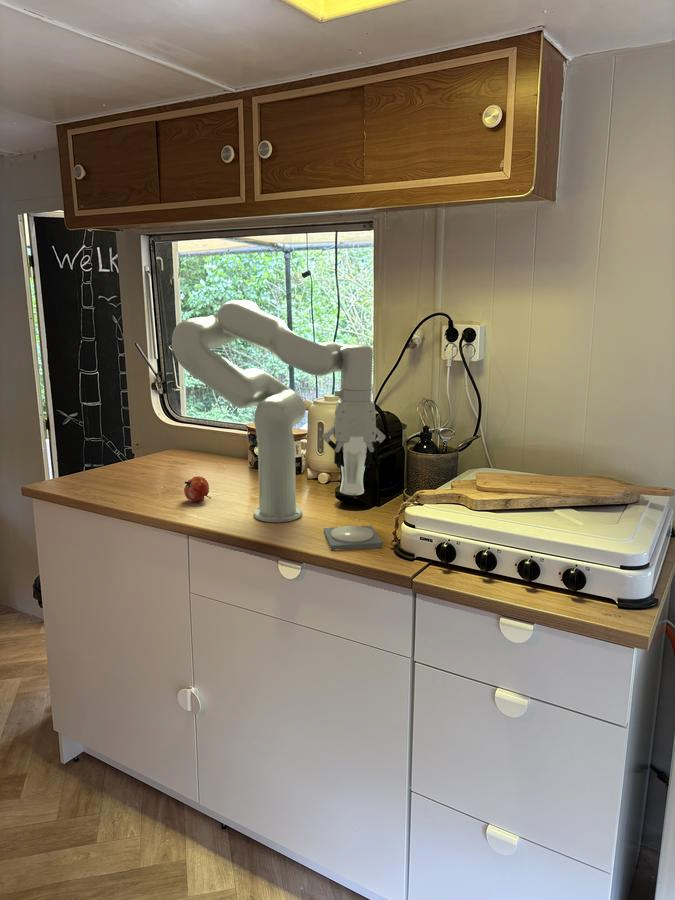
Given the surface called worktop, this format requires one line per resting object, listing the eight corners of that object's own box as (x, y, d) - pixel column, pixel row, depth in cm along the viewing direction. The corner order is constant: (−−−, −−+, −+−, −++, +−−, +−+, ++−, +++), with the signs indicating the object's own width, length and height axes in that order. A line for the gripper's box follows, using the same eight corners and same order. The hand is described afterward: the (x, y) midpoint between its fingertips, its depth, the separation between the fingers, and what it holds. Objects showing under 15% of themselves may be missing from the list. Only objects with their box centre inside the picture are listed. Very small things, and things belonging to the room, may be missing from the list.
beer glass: (364, 488, 180) (367, 431, 177) (366, 496, 174) (369, 437, 170) (337, 487, 180) (339, 430, 177) (338, 495, 173) (341, 436, 170)
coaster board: (323, 532, 171) (323, 525, 171) (371, 530, 173) (371, 523, 173) (330, 550, 160) (330, 543, 159) (382, 547, 162) (382, 540, 161)
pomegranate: (200, 503, 201) (172, 487, 196) (215, 483, 201) (187, 466, 196) (208, 513, 195) (179, 497, 190) (223, 492, 195) (195, 475, 190)
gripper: (322, 398, 166) (320, 471, 170) (393, 398, 169) (390, 470, 173) (318, 393, 173) (316, 463, 177) (386, 393, 176) (383, 462, 180)
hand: (352, 465), depth 175 cm, fingers closed on beer glass, 6 cm apart
